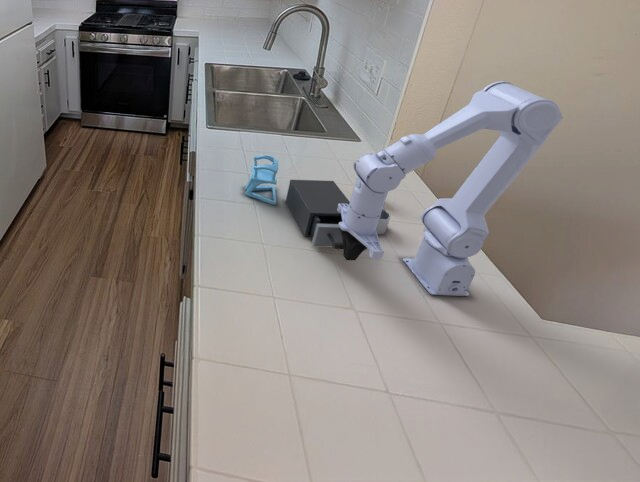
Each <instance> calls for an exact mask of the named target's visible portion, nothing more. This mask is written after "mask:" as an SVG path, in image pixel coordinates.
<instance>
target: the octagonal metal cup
mask: <svg viewBox="0 0 640 482" xmlns="http://www.w3.org/2000/svg"><path fill="white" fill-rule="evenodd" d="M391 217H392V215H391V214H390V213H389V212H388V211H387V209H385V208H383V209H382V212H381V215H380V218H379V221H378V224H377V227H376V231H377V235H384V234H385V232H386V231H387V228H388V225H389V223H390V220H391Z"/></svg>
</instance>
